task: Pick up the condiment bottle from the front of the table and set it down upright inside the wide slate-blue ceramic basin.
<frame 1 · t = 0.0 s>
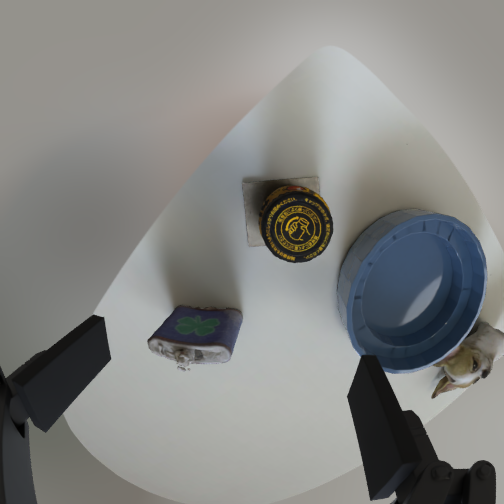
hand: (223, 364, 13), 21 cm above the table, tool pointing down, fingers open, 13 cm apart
condiment: (283, 211, 31), on the table
flask: (208, 315, 35), on the table
ceramic sculpture: (458, 348, 33), on the table
basin: (406, 284, 31), on the table
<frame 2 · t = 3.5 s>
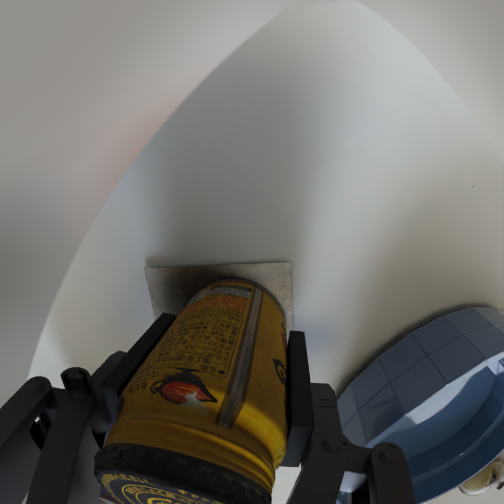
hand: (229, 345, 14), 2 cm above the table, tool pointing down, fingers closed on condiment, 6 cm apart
condiment: (221, 321, 16), on the table, touching gripper
ceramic sculpture: (476, 445, 18), on the table
basin: (431, 406, 17), on the table
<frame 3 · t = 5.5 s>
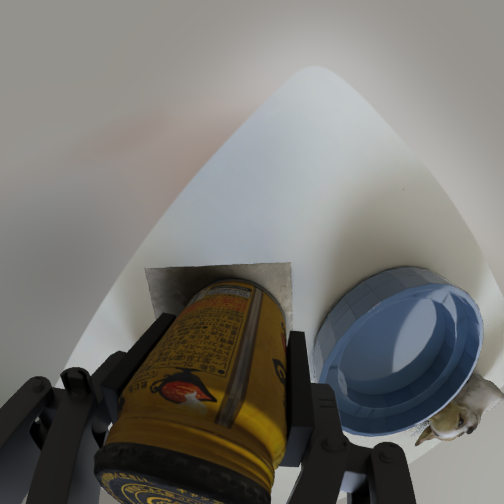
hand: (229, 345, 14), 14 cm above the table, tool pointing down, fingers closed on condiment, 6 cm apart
condiment: (221, 321, 17), point 11 cm above the table, touching gripper
ceramic sculpture: (446, 397, 29), on the table
basin: (392, 345, 28), on the table
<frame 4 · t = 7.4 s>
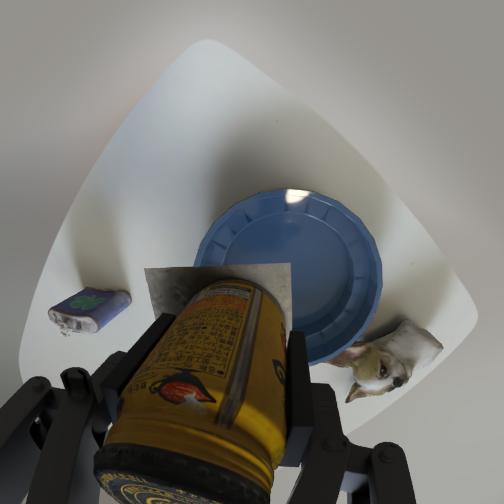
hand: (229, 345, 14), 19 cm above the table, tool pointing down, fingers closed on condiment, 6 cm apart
condiment: (221, 321, 16), point 17 cm above the table, touching gripper
flask: (107, 296, 37), on the table
ceramic sculpture: (376, 348, 34), on the table
basin: (287, 271, 33), on the table
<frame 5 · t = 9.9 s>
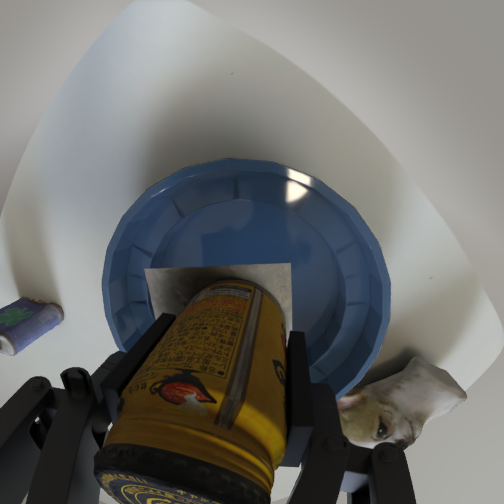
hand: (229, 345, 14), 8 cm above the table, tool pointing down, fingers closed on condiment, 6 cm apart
condiment: (221, 321, 16), point 6 cm above the table, touching gripper
flask: (42, 309, 26), on the table
ceramic sculpture: (375, 390, 24), on the table
basin: (247, 289, 22), on the table
when the fingers open (3 cm above the table, at t = 11.6 s): condiment stays where it is, resting on basin.
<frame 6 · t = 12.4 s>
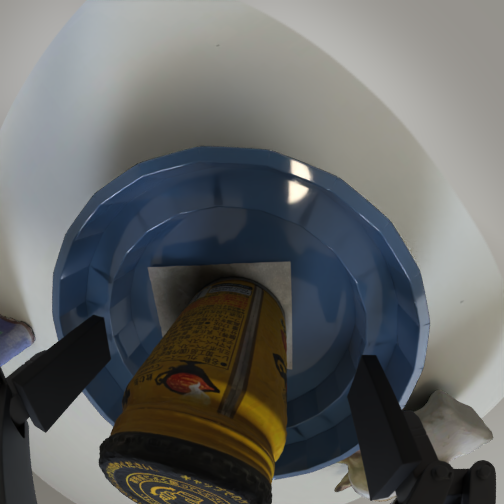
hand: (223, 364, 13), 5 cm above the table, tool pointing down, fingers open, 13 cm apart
condiment: (222, 319, 17), resting on basin
flask: (14, 327, 21), on the table
ceramic sculpture: (388, 426, 19), on the table
basin: (238, 320, 17), on the table
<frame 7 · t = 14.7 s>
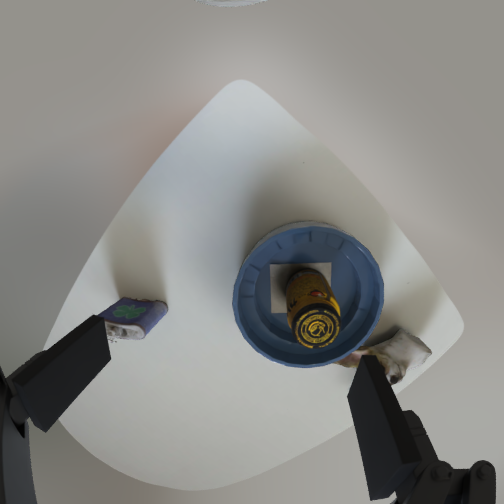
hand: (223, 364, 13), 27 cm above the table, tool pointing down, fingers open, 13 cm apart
condiment: (300, 287, 39), resting on basin
flask: (143, 305, 43), on the table
ceramic sculpture: (376, 352, 41), on the table
basin: (306, 288, 39), on the table
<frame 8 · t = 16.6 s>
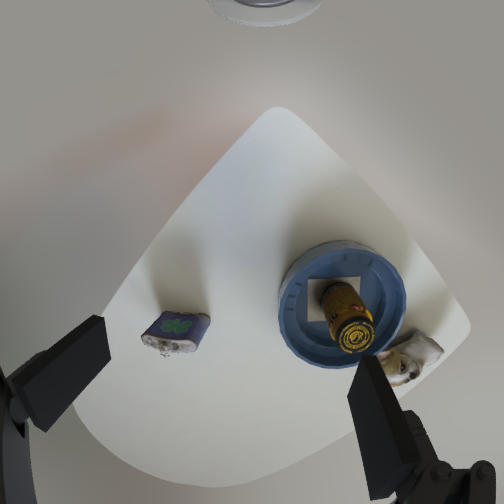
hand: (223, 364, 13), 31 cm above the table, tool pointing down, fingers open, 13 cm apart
condiment: (333, 298, 43), resting on basin
flask: (185, 318, 47), on the table
ceramic sculpture: (395, 352, 45), on the table
basin: (338, 299, 43), on the table
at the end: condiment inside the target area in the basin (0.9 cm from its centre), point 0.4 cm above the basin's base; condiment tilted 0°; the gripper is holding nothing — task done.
